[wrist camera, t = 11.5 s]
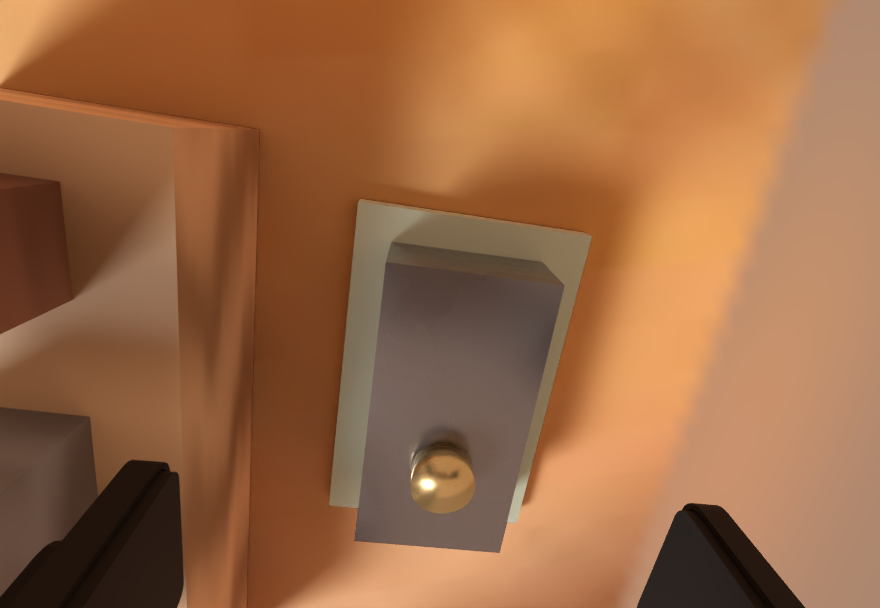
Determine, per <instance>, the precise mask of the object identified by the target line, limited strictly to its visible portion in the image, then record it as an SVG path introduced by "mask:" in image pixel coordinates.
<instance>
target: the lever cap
mask: <svg viewBox="0 0 880 608" xmlns="http://www.w3.org/2000/svg"><path fill="white" fill-rule="evenodd" d="M564 287H565V285H564V284H563V283H562V282H561V281H560V280H559V279H558V278H557V277H556V276H555V275H554V274H553V273H552V272H551V271H550V269H549V268H548V267H547V266H546V265H545V264H544V263H543V262H539V261H532V260H525V259H517V258H510V257H502V256H495V255H488V254H480V253H473V252H466V251H458V250H451V249H443V248H436V247H429V246H421V245H414V244H406V243H399V242H392V241H391V245H390V249H389V252H388V256H387V259H386V264H385V273H384V282H383V291H382V300H381V309H380V318H379V327H378V336H377V345H376V354H375V363H374V372H373V381H372V390H371V399H370V408H369V417H368V426H367V435H366V444H365V453H364V462H363V471H362V480H361V489H360V497H359V506H358V515H357V524H356V533H355V541H363V542H375V543H387V544H399V545H411V546H423V547H435V548H447V549H459V550H471V551H483V552H496V553H500V549H501V545H502V541H503V537H504V533H505V528H506V524H507V520H508V516H509V512H510V508H511V504H512V500H513V496H514V492H515V487H516V483H517V479H518V475H519V471H520V467H521V463H522V459H523V455H524V451H525V446H526V442H527V438H528V434H529V430H530V426H531V422H532V418H533V414H534V410H535V405H536V401H537V397H538V393H539V389H540V385H541V381H542V377H543V373H544V369H545V365H546V360H547V356H548V352H549V348H550V344H551V340H552V336H553V332H554V328H555V324H556V319H557V315H558V311H559V307H560V303H561V299H562V295H563V291H564Z"/></svg>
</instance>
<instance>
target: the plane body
mask: <svg viewBox="0 0 880 608" xmlns="http://www.w3.org/2000/svg"><path fill="white" fill-rule="evenodd" d="M259 134H260V130H259V129H253V128H247V127H240V126H234V125H228V124H222V123H215V122H209V121H203V120H197V119H190V118H184V117H178V116H172V115H165V114H159V113H153V112H147V111H140V110H134V109H128V108H122V107H115V106H109V105H103V104H97V103H90V102H84V101H78V100H72V99H65V98H59V97H53V96H47V95H40V94H34V93H28V92H22V91H15V90H9V89H3V88H0V597H1V595H2V594H3V593H4V592H5V591H6V590H7V588H8V587H9V586H10V585H11V584H12V583H13V581H14V580H15V579H16V578H17V577H18V575H19V574H20V573H21V572H22V571H23V570H24V568H25V567H26V566H27V565H28V564H29V563H30V561H31V560H32V559H33V558H34V557H35V556H36V555H37V554H38V553H39V552H40V551H41V550H42V549H43V548H44V547H45V546H46V545H48V544H50V543H51V542H53V541H58V540H63V539H64V537H65V536H66V535H67V534H68V533H69V531H70V530H71V529H72V528H73V526H74V525H75V524H76V523H77V522H78V520H79V519H80V518H81V517H82V516H83V514H84V513H85V512H86V511H87V509H88V508H89V507H90V506H91V505H92V503H93V502H94V501H95V500H96V499H97V497H98V496H99V495H100V494H101V492H102V491H103V490H104V489H105V488H106V486H107V485H108V484H109V483H110V481H111V480H112V479H113V478H114V477H115V475H116V474H117V473H118V472H119V471H120V469H121V468H122V467H123V466H124V465H125V464H126V463H127V462H128V461H130V460H144V461H156V462H166V463H168V465H169V468H170V472H177V473H178V474H179V483H180V505H181V528H182V550H183V573H184V586H183V592H182V596H181V599H180V602H179V605H178V607H177V608H247V576H248V539H249V502H250V465H251V429H252V392H253V355H254V318H255V281H256V244H257V207H258V171H259Z"/></svg>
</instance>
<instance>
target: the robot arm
mask: <svg viewBox="0 0 880 608" xmlns="http://www.w3.org/2000/svg"><path fill="white" fill-rule="evenodd" d="M183 586H184V573H183V550H182V528H181V505H180V483H179V474H178V473H177V472H170V468H169V465H168V463H166V462H156V461H144V460H130V461H128V462H127V463H126V464H125V465H124V466H123V467H122V468H121V469H120V471H119V472H118V473H117V474H116V475H115V477H114V478H113V479H112V480H111V481H110V483H109V484H108V485H107V486H106V488H105V489H104V490H103V491H102V492H101V494H100V495H99V496H98V497H97V499H96V500H95V501H94V502H93V503H92V505H91V506H90V507H89V508H88V509H87V511H86V512H85V513H84V514H83V516H82V517H81V518H80V519H79V520H78V522H77V523H76V524H75V525H74V526H73V528H72V529H71V530H70V531H69V533H68V534H67V535H66V536H65V537H64V539H63V540H58V541H53V542H51V543H50V544H48V545H46V546H45V547H44V548H43V549H42V550H41V551H40V552H39V553H38V554H37V555H36V556H35V557H34V558H33V559H32V560H31V561H30V563H29V564H28V565H27V566H26V567H25V568H24V570H23V571H22V572H21V573H20V574H19V575H18V577H17V578H16V579H15V580H14V581H13V583H12V584H11V585H10V586H9V587H8V588H7V590H6V591H5V592H4V593H3V594H2V595H1V597H0V608H177V607H178V605H179V602H180V599H181V596H182V592H183ZM637 608H805V607H804V606H803V605H802V603H801V602H800V601H799V600H798V599H797V597H796V596H795V595H794V594H793V593H792V591H791V590H790V589H789V588H788V586H787V585H786V584H785V583H784V581H783V580H782V579H781V578H780V577H779V575H778V574H777V573H776V572H775V570H773V568H772V567H771V565H770V564H769V563H768V562H767V561H766V559H765V558H764V557H763V556H762V554H761V553H760V552H759V551H758V550H757V548H756V547H755V546H754V545H753V543H752V542H751V541H750V540H749V539H748V538H747V536H746V535H745V534H744V532H743V531H742V530H741V529H740V528H739V526H738V525H737V524H736V523H735V522H734V520H733V519H732V518H731V517H730V515H729V514H728V513H727V512H726V511H725V510H724V509H723V508H722V507H720V506H717V505H706V504H694V503H691V504H690V503H689V504H687V505H685V506H684V508H683V509H682V511H678V512H677V513H676V515H675V517H674V519H673V522H672V524H671V527H670V529H669V531H668V534H667V536H666V538H665V541H664V543H663V546H662V548H661V550H660V553H659V555H658V557H657V560H656V562H655V565H654V567H653V570H652V572H651V574H650V577H649V579H648V581H647V584H646V586H645V589H644V591H643V593H642V596H641V598H640V600H639V603H638V606H637Z"/></svg>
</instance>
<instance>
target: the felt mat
mask: <svg viewBox="0 0 880 608" xmlns="http://www.w3.org/2000/svg"><path fill="white" fill-rule="evenodd" d="M591 239H592V236H590V235H589V234H587V233H585V232H578V231H572V230H565V229H558V228H552V227H545V226H538V225H532V224H525V223H518V222H512V221H505V220H498V219H492V218H485V217H479V216H472V215H465V214H459V213H452V212H445V211H439V210H432V209H425V208H419V207H412V206H405V205H399V204H392V203H385V202H379V201H372V200H365V199H360V200H359V201H358V207H357V217H356V228H355V238H354V249H353V259H352V269H351V280H350V290H349V301H348V311H347V321H346V332H345V342H344V353H343V363H342V374H341V384H340V394H339V405H338V415H337V426H336V436H335V446H334V457H333V467H332V478H331V488H330V499H329V506H339V507H349V508H358V506H359V497H360V489H361V480H362V471H363V462H364V453H365V444H366V435H367V426H368V417H369V408H370V399H371V390H372V381H373V372H374V363H375V354H376V345H377V336H378V327H379V318H380V309H381V300H382V291H383V282H384V273H385V264H386V259H387V256H388V252H389V249H390V245H391V241H392V242H399V243H406V244H414V245H421V246H429V247H436V248H443V249H451V250H458V251H466V252H473V253H480V254H488V255H495V256H502V257H510V258H517V259H525V260H532V261H539V262H543V263H544V264H545V265H546V266H547V267H548V268H549V269H550V271H551V272H552V273H553V274H554V275H555V276H556V277H557V278H558V279H559V280H560V281H561V282H562V283H563V284H564V285H565V287H564V291H563V295H562V299H561V303H560V307H559V311H558V315H557V319H556V324H555V328H554V332H553V336H552V340H551V344H550V348H549V352H548V356H547V360H546V365H545V369H544V373H543V377H542V381H541V385H540V389H539V393H538V397H537V401H536V405H535V410H534V414H533V418H532V422H531V426H530V430H529V434H528V438H527V442H526V446H525V451H524V455H523V459H522V463H521V467H520V471H519V475H518V479H517V483H516V487H515V492H514V496H513V500H512V504H511V508H510V512H509V516H508V520H507V523H517V520H518V517H519V513H520V509H521V505H522V501H523V498H524V494H525V490H526V486H527V482H528V479H529V475H530V471H531V467H532V463H533V460H534V456H535V452H536V448H537V444H538V441H539V437H540V433H541V429H542V425H543V422H544V418H545V414H546V410H547V406H548V403H549V399H550V395H551V391H552V387H553V384H554V380H555V376H556V372H557V368H558V365H559V361H560V357H561V353H562V349H563V346H564V342H565V338H566V334H567V330H568V327H569V323H570V319H571V315H572V311H573V308H574V304H575V300H576V296H577V292H578V289H579V285H580V281H581V277H582V273H583V270H584V266H585V262H586V258H587V254H588V251H589V247H590V243H591Z"/></svg>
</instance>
